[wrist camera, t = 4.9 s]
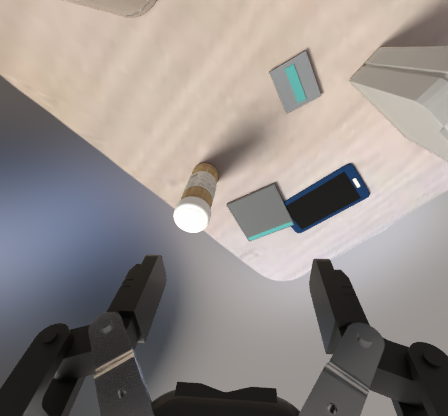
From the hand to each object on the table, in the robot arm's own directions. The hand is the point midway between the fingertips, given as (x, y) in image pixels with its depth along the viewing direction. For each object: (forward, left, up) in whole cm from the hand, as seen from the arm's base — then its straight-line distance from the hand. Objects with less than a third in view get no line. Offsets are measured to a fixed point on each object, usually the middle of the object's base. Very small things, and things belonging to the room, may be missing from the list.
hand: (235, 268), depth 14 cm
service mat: (+15, -4, -30) cm, 33 cm away
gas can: (+7, +20, -30) cm, 37 cm away
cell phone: (+17, +6, -30) cm, 35 cm away
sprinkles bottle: (+4, -9, -30) cm, 31 cm away
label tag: (-2, +9, -30) cm, 31 cm away
